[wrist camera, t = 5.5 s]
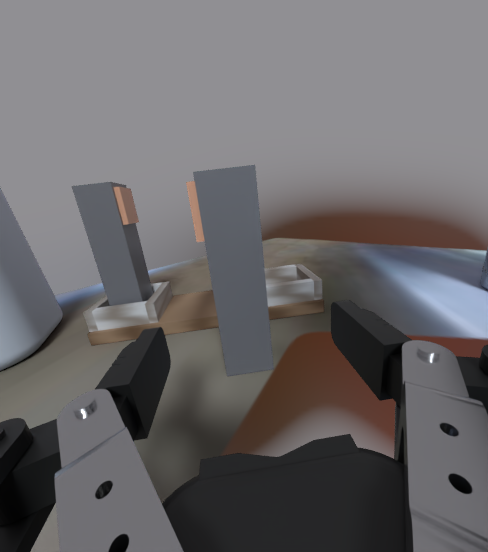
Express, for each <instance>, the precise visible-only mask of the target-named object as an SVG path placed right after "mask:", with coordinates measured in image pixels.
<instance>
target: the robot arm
mask: <svg viewBox="0 0 488 552" xmlns="http://www.w3.org/2000/svg"><path fill="white" fill-rule="evenodd" d="M482 272H483V273H482V278H481V285H482V286H483V287H485V288H486V289H488V249H487V253H486V258H485V263H484V266H483V271H482ZM331 334H332V338H333V341H334V343H335V345H336V346H337V347H338V349H339V350H340V351H341V353H342V354H343V355H344V356H345V358H346V359H347V360H348V361H349V363H350V364H351V365H352V366H353V368H354V369H355V370H356V371H357V373H358V374H359V375H360V376H361V377H362V379H363V380H364V381H365V383H366V384H367V385H368V386H369V388H370V389H371V390H372V391H373V393H374V394H375V395H376V396H377V398H378V399H379V400H386V399H392V398H393V399H394V400H395V401H396V407H395V453H394V454H395V455H394V459H393V458H391V457H388V456H386V455H384V454H381V453H378V452H375V451H372V450H368V449H363V448H357V446H356V444H355V442H354V441H353V439H352V437H351V435H350V434H347V435H342V436H335V437H329V438H324V439H318V440H313V441H311V442H309V443H307V444H305V445H303V446H301V447H299V448H297V449H295V450H293V451H291V452H289V453H287V454H285V455H283V456H280V457H269V456H260V455H251V454H241V453H237V454H231V455H225V456H219V457H213V458H207V459H201V462H200V473H199V475H198V476H196V477H194V478H192V479H191V480H189V481H187V482H186V483H184V484H183V485H182V486H181V487H179V488H178V489H177V490H175V491H174V492H173V493H172V494H171V495H170V496H169V497H168V498H167V499H166V500H165V501H164V503H163V504H162V503H161V501H160V499H159V497H158V495H157V492H156V490H155V488H154V486H153V484H152V481H151V479H150V477H149V475H148V473H147V470H146V468H145V466H144V464H143V462H142V460H141V457H140V455H139V453H138V451H137V449H136V446H135V444H134V440H139V439H145V438H147V437H148V434H149V431H150V428H151V425H152V422H153V419H154V416H155V413H156V410H157V407H158V404H159V401H160V398H161V395H162V392H163V389H164V386H165V383H166V380H167V377H168V374H169V370H170V363H171V362H170V354H169V350H168V346H167V342H166V338H165V335H164V331H163V329H162V328H161V327H157V328H150V329H144V330H143V331H142V332H141V334H140V336H139V337H138V339H137V340H136V341H135V342H132V343H130V344H129V345H128V346H127V347H125V348H124V349H123V350H122V351H121V353H120V354H119V356H118V357H117V360H115V361H114V363H113V364H112V367H110V368H109V370H108V371H107V373H106V374H105V376H104V377H103V378H102V380H101V381H100V383H99V384H98V386H97V387H96V388H95V390H92V391H89V392H86V393H84V394H82V395H80V396H78V397H77V398H75V399H74V400H72V401H71V402H70V403H69V404H67V405H66V406H65V407H64V408H63V409H62V411H61V412H60V414H59V415H58V418H57V419H55V420H53V421H50V422H47V423H45V424H42V425H40V426H37V427H34V428H32V429H29V428H28V426H27V424H26V422H25V421H24V420H23V419H21V418H15V419H10V420H6V421H3V422H1V423H0V552H30V551H31V549H32V547H33V545H34V543H35V541H36V539H37V537H38V535H39V534H40V532H41V530H42V528H43V526H44V524H45V522H46V520H47V518H48V516H49V514H50V512H51V511H52V509H53V507H54V505H55V503H56V507H57V521H58V534H59V548H60V552H488V345H486V346H484V347H483V349H482V353H481V357H480V358H473V357H457V356H455V355H454V354H453V353H452V352H451V351H449V350H448V349H447V348H445V347H443V346H441V345H438V344H435V343H432V342H427V341H421V340H411V339H410V338H408V337H407V336H406V335H404V334H403V333H401V332H400V331H399V330H397V329H396V328H394V327H393V326H392V325H389V323H387V322H386V321H385V320H382V318H381V317H379V316H378V315H376V314H375V313H373V312H370V311H368V310H365V309H361V308H360V307H358V306H357V305H356V304H354V303H353V302H352V301H350V300H346V301H339V302H333V303H332V305H331Z"/></svg>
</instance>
